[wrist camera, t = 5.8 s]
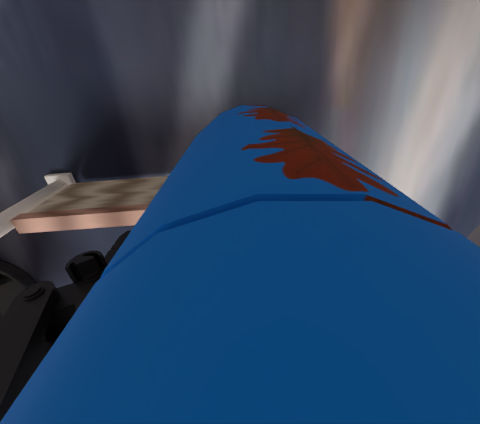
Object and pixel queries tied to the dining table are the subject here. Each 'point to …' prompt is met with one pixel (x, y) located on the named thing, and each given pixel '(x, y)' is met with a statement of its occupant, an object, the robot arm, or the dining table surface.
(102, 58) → the dining table surface
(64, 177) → the gate posts
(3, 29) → the dining table surface
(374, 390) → the thermos
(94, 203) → the gate
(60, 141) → the dining table surface
